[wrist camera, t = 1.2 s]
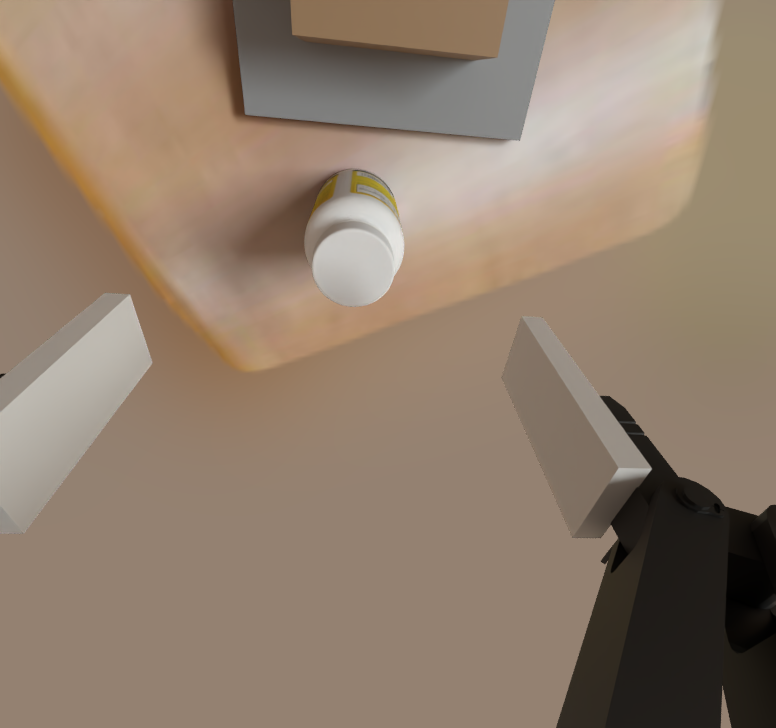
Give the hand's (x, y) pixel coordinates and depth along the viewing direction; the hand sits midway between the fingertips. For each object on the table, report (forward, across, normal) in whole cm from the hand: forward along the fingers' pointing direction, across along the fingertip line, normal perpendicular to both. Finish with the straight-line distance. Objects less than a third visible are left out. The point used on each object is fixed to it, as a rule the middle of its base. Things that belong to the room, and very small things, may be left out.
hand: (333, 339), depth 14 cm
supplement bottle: (+16, 0, 0) cm, 16 cm away
